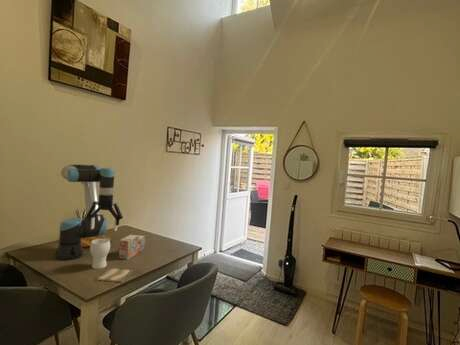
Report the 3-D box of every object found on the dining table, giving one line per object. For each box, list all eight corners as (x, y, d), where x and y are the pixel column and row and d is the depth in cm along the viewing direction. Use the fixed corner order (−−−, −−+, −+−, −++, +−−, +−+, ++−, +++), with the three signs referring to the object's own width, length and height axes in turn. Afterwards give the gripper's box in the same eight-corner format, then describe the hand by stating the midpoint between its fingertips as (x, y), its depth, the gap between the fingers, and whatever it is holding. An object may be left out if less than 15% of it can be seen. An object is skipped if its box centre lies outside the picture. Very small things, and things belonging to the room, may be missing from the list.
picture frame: (95, 280, 132) (95, 278, 132) (109, 268, 146) (109, 267, 146) (121, 282, 132) (121, 281, 132) (132, 270, 146) (132, 269, 146)
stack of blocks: (137, 247, 183) (138, 230, 182) (144, 248, 181) (145, 231, 181) (118, 258, 162) (119, 239, 161) (127, 259, 160) (128, 241, 160)
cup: (112, 262, 154) (113, 238, 153) (104, 270, 144) (105, 244, 143) (94, 261, 154) (96, 237, 153) (85, 269, 143) (86, 243, 142)
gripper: (80, 193, 143) (79, 229, 145) (124, 197, 144) (122, 233, 145) (88, 191, 151) (86, 226, 152) (129, 195, 151) (127, 229, 153)
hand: (104, 229), depth 149 cm, fingers open, 13 cm apart
